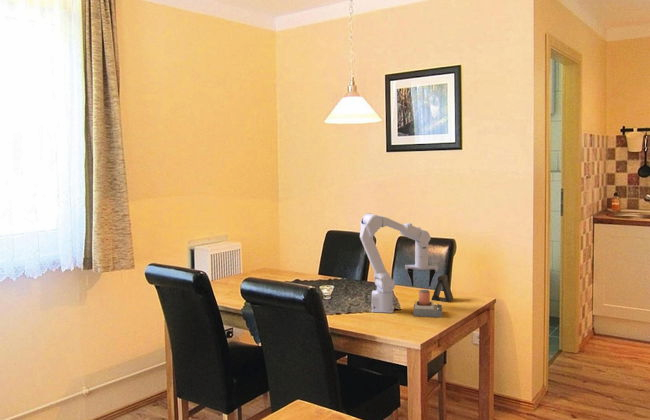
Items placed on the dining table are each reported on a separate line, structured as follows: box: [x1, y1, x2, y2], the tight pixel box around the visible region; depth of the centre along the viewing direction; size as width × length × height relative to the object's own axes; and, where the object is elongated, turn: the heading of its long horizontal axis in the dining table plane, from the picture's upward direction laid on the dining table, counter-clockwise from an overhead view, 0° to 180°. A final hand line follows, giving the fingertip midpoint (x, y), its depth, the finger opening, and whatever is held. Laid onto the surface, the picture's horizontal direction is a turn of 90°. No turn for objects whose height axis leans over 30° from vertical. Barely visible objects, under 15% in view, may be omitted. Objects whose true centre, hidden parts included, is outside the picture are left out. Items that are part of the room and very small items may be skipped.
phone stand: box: [430, 273, 454, 303], centre depth 268 cm, size 9×6×12 cm, turn 60°
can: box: [418, 289, 431, 306], centre depth 245 cm, size 5×5×7 cm
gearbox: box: [413, 300, 443, 318], centre depth 245 cm, size 12×9×4 cm
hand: (421, 285), depth 255 cm, fingers open, 7 cm apart
